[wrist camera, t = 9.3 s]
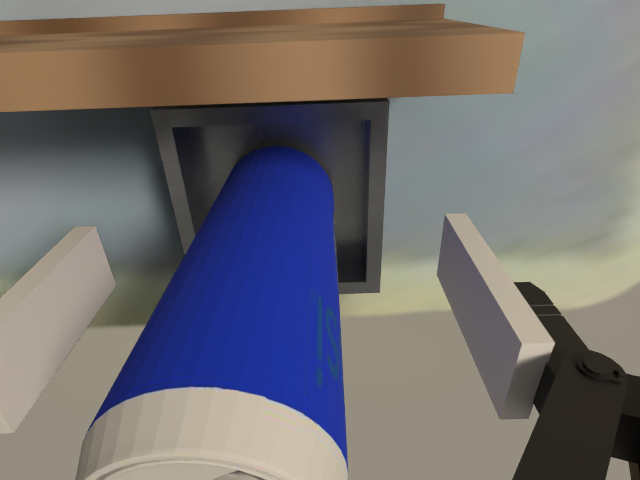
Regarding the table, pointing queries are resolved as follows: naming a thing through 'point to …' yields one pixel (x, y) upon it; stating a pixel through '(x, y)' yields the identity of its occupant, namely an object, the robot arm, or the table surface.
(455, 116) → the table surface
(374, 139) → the tray
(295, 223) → the beverage can
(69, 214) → the table surface
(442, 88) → the board
